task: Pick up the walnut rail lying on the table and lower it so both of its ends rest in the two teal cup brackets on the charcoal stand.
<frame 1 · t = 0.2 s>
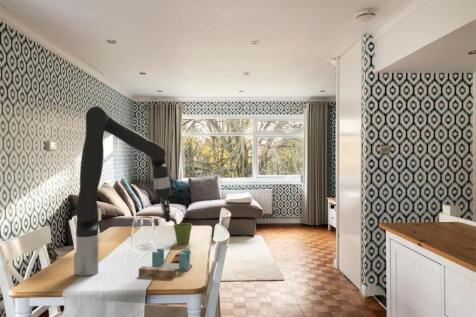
hand: (167, 220, 175), 22 cm above the table, tool pointing down, fingers open, 8 cm apart
rail: (157, 276, 159), on the table
plant pot: (182, 243, 220), on the table
bracket stand: (171, 267, 171), on the table
sunglasses case: (181, 260, 186), on the table
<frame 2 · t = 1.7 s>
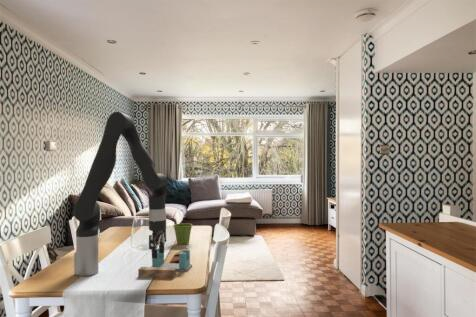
hand: (158, 255, 160), 9 cm above the table, tool pointing down, fingers open, 8 cm apart
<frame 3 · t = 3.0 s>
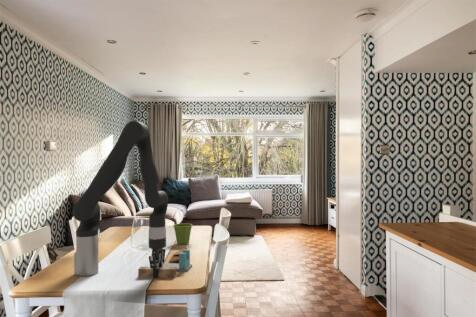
hand: (157, 275, 159), 0 cm above the table, tool pointing down, fingers closed on rail, 4 cm apart
rail: (157, 276, 159), on the table, touching gripper
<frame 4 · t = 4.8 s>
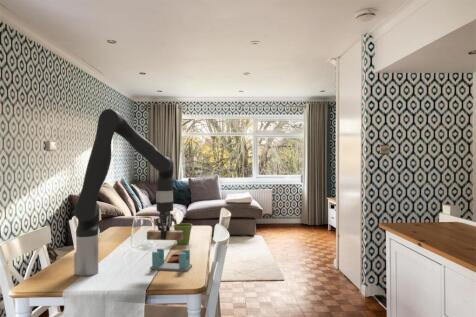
hand: (165, 238, 165), 15 cm above the table, tool pointing down, fingers closed on rail, 3 cm apart
rail: (165, 239, 165), point 15 cm above the table, touching gripper
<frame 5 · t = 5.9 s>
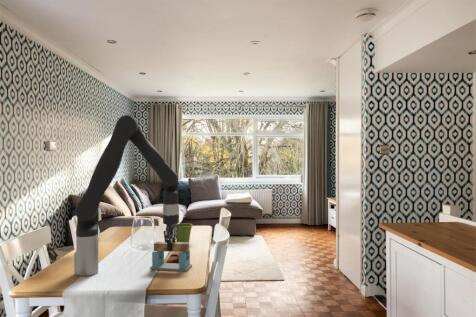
hand: (171, 249, 171), 9 cm above the table, tool pointing down, fingers closed on rail, 3 cm apart
rail: (171, 250, 171), point 8 cm above the table, touching gripper
when the fingers open (6 cm above the table, at t = 6.8 s): rail drops 1 cm, resting on bracket stand.
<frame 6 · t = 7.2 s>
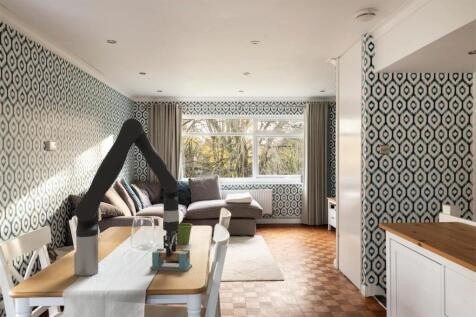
hand: (171, 254, 171), 6 cm above the table, tool pointing down, fingers open, 7 cm apart
rail: (171, 259, 171), point 4 cm above the table, touching bracket stand
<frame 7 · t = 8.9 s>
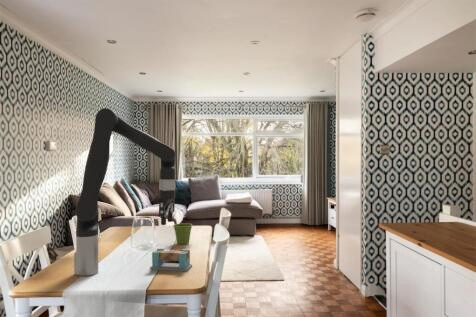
hand: (166, 223, 171), 21 cm above the table, tool pointing down, fingers open, 8 cm apart
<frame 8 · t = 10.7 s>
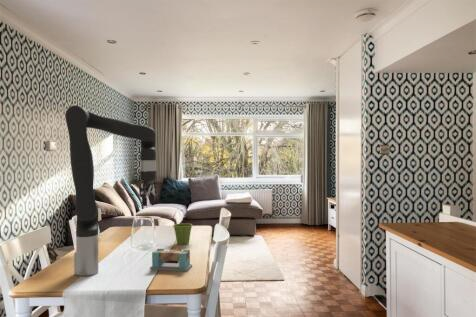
hand: (148, 204, 170), 30 cm above the table, tool pointing down, fingers open, 8 cm apart
at the end: rail 0.0 cm off-centre on the bracket stand, point 4.0 cm above the bracket stand's base; rail tilted 0°; the gripper is holding nothing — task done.
